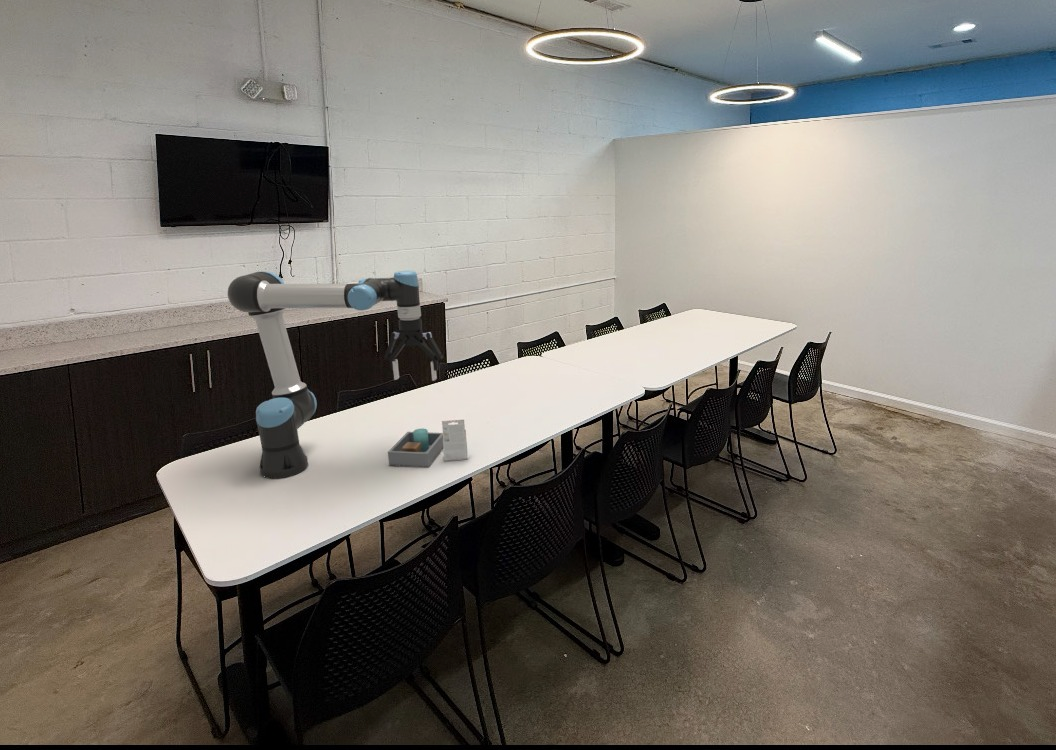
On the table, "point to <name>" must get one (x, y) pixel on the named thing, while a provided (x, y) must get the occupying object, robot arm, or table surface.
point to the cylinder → (421, 438)
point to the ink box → (454, 440)
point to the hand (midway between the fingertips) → (415, 379)
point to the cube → (412, 447)
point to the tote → (415, 458)
